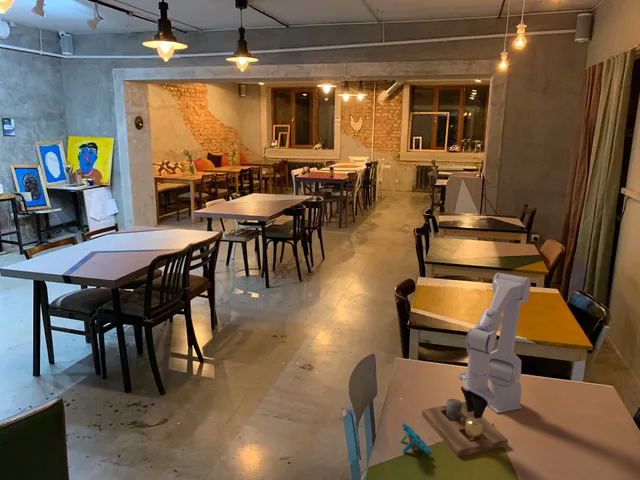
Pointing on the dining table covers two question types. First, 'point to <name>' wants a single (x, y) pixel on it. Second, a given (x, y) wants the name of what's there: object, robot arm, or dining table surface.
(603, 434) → the dining table surface
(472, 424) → the brass sleeve
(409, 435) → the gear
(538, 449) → the dining table surface
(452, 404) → the walnut jig
